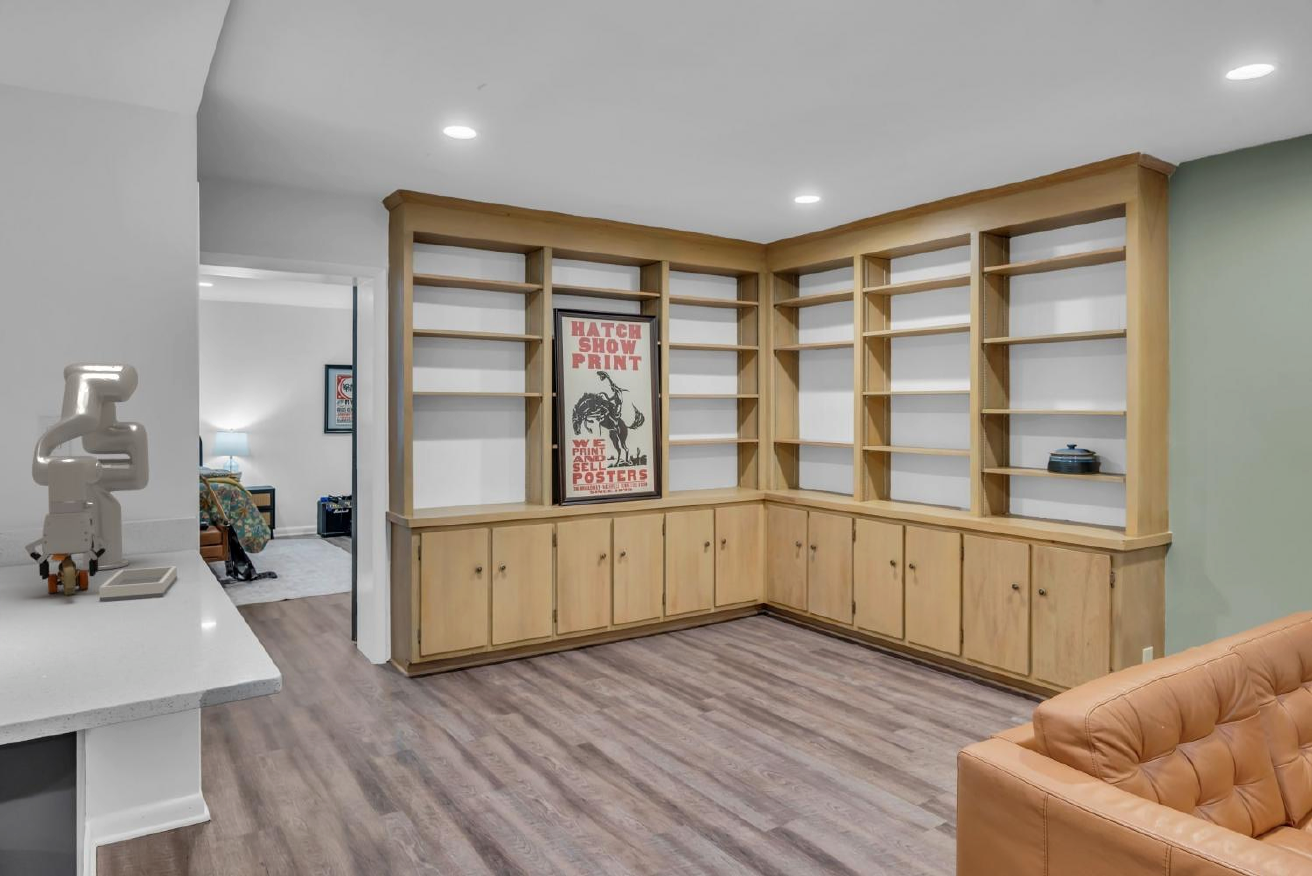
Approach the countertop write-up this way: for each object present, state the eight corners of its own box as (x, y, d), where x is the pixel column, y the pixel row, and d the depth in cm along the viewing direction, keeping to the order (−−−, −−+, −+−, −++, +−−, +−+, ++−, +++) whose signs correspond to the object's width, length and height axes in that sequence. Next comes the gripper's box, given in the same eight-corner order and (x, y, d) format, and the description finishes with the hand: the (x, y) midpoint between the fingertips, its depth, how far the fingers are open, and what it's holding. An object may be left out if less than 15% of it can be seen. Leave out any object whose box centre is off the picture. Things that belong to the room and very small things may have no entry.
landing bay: (120, 583, 214) (120, 570, 214) (176, 579, 220) (176, 566, 219) (99, 601, 193) (99, 587, 193) (162, 596, 198) (162, 582, 198)
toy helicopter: (87, 586, 210) (85, 534, 210) (93, 601, 194) (91, 544, 194) (47, 591, 205) (46, 537, 205) (50, 606, 189) (49, 548, 189)
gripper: (112, 504, 207) (114, 571, 207) (29, 508, 200) (31, 577, 200) (105, 508, 200) (107, 576, 200) (19, 511, 193) (21, 582, 193)
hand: (69, 577), depth 200 cm, fingers open, 9 cm apart
